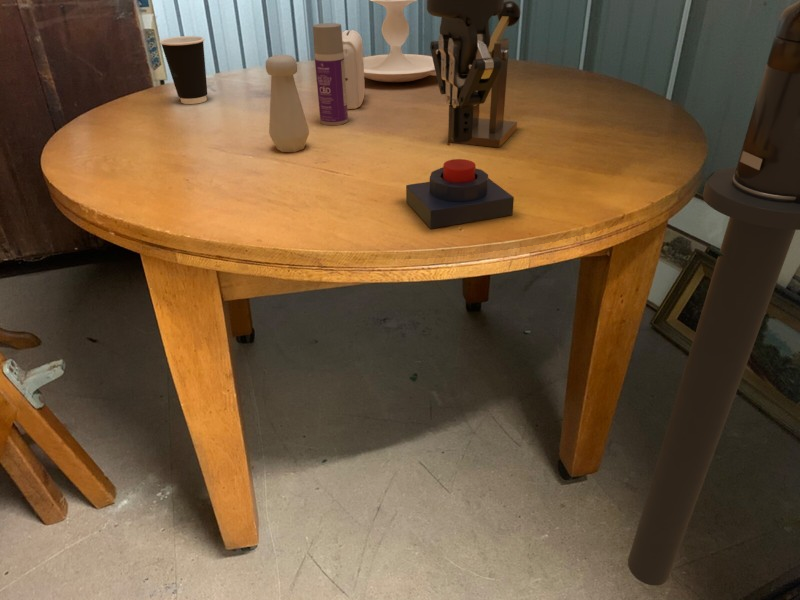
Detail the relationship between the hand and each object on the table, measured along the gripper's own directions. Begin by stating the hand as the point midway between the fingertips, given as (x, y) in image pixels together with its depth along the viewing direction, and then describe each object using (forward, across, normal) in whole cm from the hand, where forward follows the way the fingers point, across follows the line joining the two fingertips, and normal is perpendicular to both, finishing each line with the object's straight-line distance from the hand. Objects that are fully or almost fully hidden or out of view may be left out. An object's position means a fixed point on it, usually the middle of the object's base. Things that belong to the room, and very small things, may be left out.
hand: (459, 139), depth 66 cm
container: (+8, +41, +5) cm, 42 cm away
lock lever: (-4, +29, -19) cm, 34 cm away
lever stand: (+8, +24, -15) cm, 29 cm away
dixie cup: (+8, +65, +27) cm, 71 cm away
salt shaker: (+8, +30, +14) cm, 34 cm away
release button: (+4, 0, 0) cm, 4 cm away
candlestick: (+8, +66, -16) cm, 68 cm away
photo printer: (+8, +52, -1) cm, 53 cm away
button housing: (+8, 0, 0) cm, 8 cm away
